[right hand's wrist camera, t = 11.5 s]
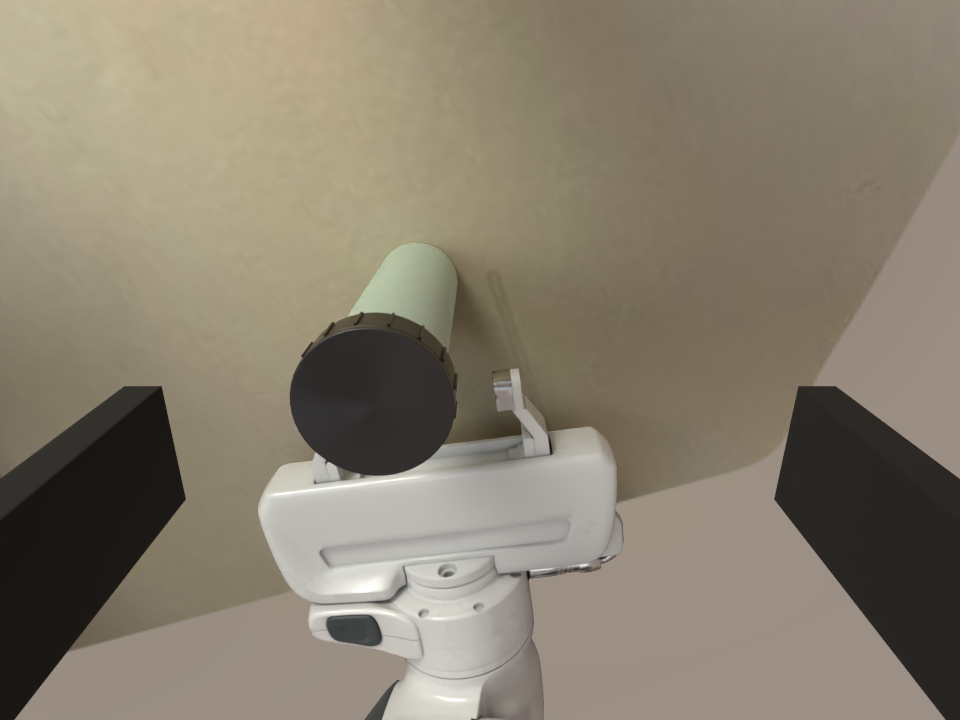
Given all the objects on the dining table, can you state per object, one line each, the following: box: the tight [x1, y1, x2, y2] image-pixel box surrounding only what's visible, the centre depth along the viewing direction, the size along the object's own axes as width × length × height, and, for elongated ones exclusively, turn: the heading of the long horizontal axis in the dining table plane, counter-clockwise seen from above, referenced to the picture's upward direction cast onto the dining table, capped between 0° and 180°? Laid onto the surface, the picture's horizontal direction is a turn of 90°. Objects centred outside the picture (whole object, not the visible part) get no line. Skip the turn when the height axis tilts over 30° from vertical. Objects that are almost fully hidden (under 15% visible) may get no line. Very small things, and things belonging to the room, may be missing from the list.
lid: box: [290, 312, 458, 476], centre depth 22 cm, size 6×6×2 cm
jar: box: [347, 242, 458, 354], centre depth 29 cm, size 5×5×16 cm
